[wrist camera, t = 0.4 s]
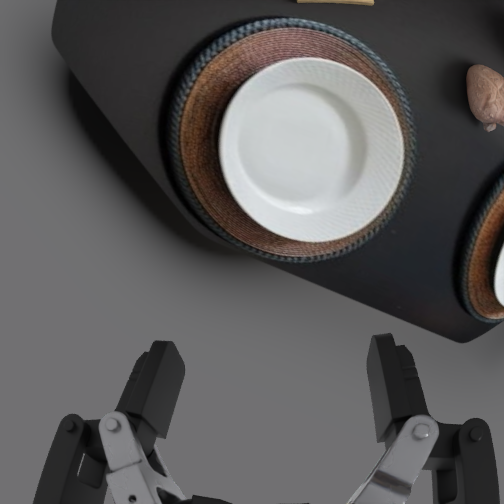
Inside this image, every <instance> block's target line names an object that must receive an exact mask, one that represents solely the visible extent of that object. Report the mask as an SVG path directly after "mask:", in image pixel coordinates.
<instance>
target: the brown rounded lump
mask: <svg viewBox="0 0 504 504" xmlns="http://www.w3.org/2000/svg"><path fill="white" fill-rule="evenodd" d="M466 85H467V96H468V101H469V106H470V109H471V111H472V113H473V114H474V116H475V117H476V119H478V120H480V121H481V122H483V125H484V129H485V130H486V131H488V132H489V131H492V130H494V129H495V128H496V123H498V124H500V125H502V126H504V78H503V77H502V76H501V75H500V74H498V73H497V72H495V71H494V70H492V69H490V68H488V67H487V66H483V65H479V64H478V65H473V66H471V67H470V68H469V69H468V72H467V77H466Z"/></svg>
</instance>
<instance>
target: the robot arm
mask: <svg viewBox="0 0 504 504" xmlns="http://www.w3.org/2000/svg"><path fill="white" fill-rule="evenodd" d="M367 374H368V380H369V386H370V392H371V399H372V406H373V413H374V420H375V428H376V436H377V443H379V442H385V447H386V451H385V452H384V453H383V455H382V456H381V458H380V459H379V461H378V463H377V464H376V465H375V467H374V468H373V470H372V471H371V472H370V474H369V475H368V477H367V478H366V479H365V481H364V482H363V484H362V485H361V486H360V487H359V489H358V490H357V491H356V492H355V493H354V495H353V496H352V497H351V498H350V499H349V500H348V502H347V503H346V504H404V503H405V502H406V500H407V499H408V497H409V495H410V493H411V487H412V485H413V483H414V481H415V480H416V478H417V476H418V475H419V473H420V471H421V470H432V486H433V504H500V499H499V485H498V476H497V468H496V460H495V454H494V448H493V443H492V438H491V433H490V429H489V426H488V424H487V423H486V422H485V421H484V420H482V419H479V418H473V419H469V420H468V421H466V422H465V423H464V424H463V425H458V424H443V423H440V422H438V421H436V420H434V419H433V418H432V417H431V415H430V414H429V413H428V410H427V406H426V402H425V398H424V394H423V390H422V387H421V383H420V380H419V377H418V373H417V369H416V368H415V362H414V359H413V356H412V354H411V353H410V351H409V350H408V349H407V348H406V347H405V345H400V346H396V345H395V342H394V338H393V336H392V334H391V333H388V334H380V335H373V336H372V338H371V343H370V348H369V353H368V357H367ZM184 375H185V365H184V362H183V360H182V358H181V356H180V355H179V352H178V350H177V348H176V346H175V344H174V343H173V342H172V341H155V342H153V344H152V346H151V348H150V351H149V352H144V353H143V354H142V355H141V357H139V359H138V360H137V361H136V363H135V366H134V368H133V372H132V373H131V375H130V377H129V380H128V382H127V384H126V386H125V389H124V391H123V393H122V396H121V398H120V401H119V403H118V405H117V408H116V409H115V411H113V412H109V413H108V414H106V415H104V416H103V418H102V419H99V420H83V419H82V418H81V417H80V416H78V415H76V414H69V415H67V416H65V417H64V418H63V419H62V421H61V422H60V425H59V427H58V430H57V432H56V435H55V437H54V440H53V443H52V446H51V448H50V451H49V454H48V457H47V460H46V463H45V465H44V469H43V471H42V474H41V478H40V481H39V484H38V487H37V491H36V494H35V498H34V501H33V504H103V503H104V499H105V495H106V491H107V486H109V489H110V492H111V494H112V497H113V500H114V503H115V504H232V503H229V502H226V501H223V500H221V499H214V498H208V497H202V496H196V495H193V496H192V499H186V498H185V497H184V494H183V493H182V491H181V489H180V488H179V487H178V485H177V484H176V483H175V482H174V481H173V480H172V478H171V476H170V474H169V472H168V470H167V468H166V466H165V464H164V462H163V460H162V458H161V455H160V453H159V451H158V448H157V446H156V444H155V440H156V437H159V438H164V439H166V435H167V432H168V429H169V425H170V422H171V418H172V415H173V412H174V408H175V405H176V402H177V398H178V395H179V392H180V389H181V385H182V382H183V379H184ZM83 453H84V454H85V456H84V459H83V462H82V466H81V469H80V472H79V475H78V476H77V473H78V469H79V466H80V463H81V460H82V457H83ZM304 504H309V503H304Z"/></svg>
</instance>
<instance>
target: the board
mask: <svg viewBox="0 0 504 504" xmlns="http://www.w3.org/2000/svg"><path fill="white" fill-rule="evenodd" d="M297 3H347V4H360V5H370V6H372V5H373V4H374V0H297Z"/></svg>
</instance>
